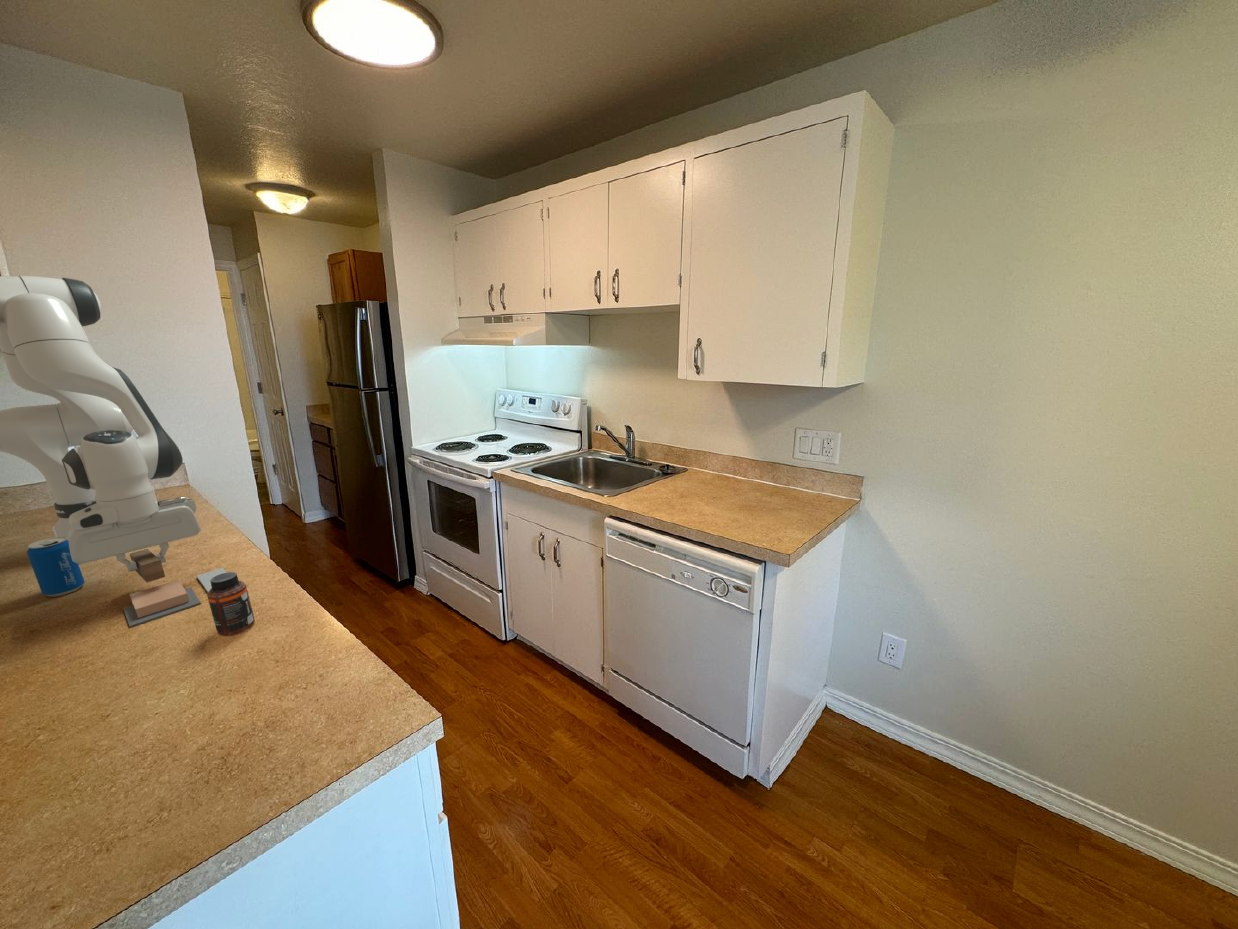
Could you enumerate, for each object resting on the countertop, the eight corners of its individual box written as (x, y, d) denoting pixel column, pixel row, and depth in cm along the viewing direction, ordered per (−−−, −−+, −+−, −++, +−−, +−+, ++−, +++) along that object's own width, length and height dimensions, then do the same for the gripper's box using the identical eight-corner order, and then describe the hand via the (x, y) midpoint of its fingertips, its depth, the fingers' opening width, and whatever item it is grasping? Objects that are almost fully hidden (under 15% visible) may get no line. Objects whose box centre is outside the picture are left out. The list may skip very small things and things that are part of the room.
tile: (129, 594, 103) (135, 609, 97) (178, 579, 109) (186, 593, 103) (132, 603, 104) (138, 618, 98) (181, 588, 109) (189, 602, 104)
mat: (123, 609, 102) (122, 608, 102) (191, 588, 110) (190, 587, 110) (130, 627, 96) (129, 626, 96) (201, 604, 104) (200, 602, 104)
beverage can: (57, 599, 106) (38, 549, 103) (35, 596, 107) (16, 547, 104) (93, 584, 112) (77, 537, 109) (72, 582, 113) (55, 535, 110)
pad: (197, 577, 115) (196, 575, 115) (223, 570, 118) (222, 567, 118) (209, 595, 107) (208, 592, 107) (236, 586, 111) (236, 583, 111)
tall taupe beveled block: (134, 570, 109) (129, 553, 107) (152, 564, 111) (147, 548, 110) (146, 582, 103) (141, 565, 102) (165, 576, 105) (160, 560, 104)
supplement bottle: (262, 622, 97) (250, 571, 94) (231, 640, 92) (217, 587, 89) (242, 617, 99) (229, 567, 96) (210, 634, 94) (195, 581, 90)
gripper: (189, 491, 112) (204, 546, 116) (58, 517, 97) (79, 579, 101) (195, 497, 108) (210, 553, 112) (59, 525, 93) (81, 589, 97)
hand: (147, 566), depth 107 cm, fingers closed on tall taupe beveled block, 3 cm apart
